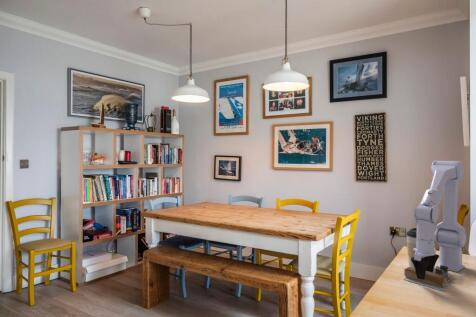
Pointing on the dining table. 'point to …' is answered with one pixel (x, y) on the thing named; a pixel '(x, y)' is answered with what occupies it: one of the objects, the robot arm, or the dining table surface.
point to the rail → (426, 277)
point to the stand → (443, 271)
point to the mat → (427, 284)
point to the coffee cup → (411, 244)
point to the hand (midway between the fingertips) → (424, 276)
